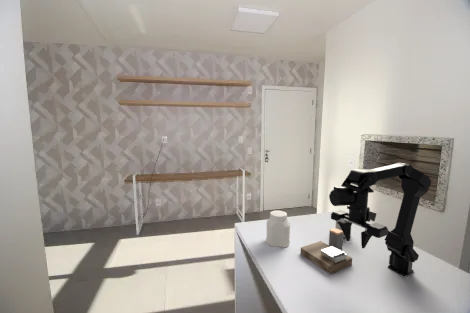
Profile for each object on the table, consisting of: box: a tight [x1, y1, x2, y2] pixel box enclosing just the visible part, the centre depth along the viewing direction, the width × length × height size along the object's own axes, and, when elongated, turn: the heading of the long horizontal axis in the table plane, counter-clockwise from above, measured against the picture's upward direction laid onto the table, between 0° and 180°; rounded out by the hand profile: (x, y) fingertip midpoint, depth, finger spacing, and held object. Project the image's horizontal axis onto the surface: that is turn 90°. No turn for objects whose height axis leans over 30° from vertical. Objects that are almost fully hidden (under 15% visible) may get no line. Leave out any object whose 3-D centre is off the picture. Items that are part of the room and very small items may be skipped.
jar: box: [265, 210, 291, 248], centre depth 107 cm, size 12×10×15 cm
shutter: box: [321, 246, 348, 263], centre depth 89 cm, size 7×7×3 cm
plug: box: [328, 227, 344, 251], centre depth 102 cm, size 4×4×9 cm
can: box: [334, 212, 352, 239], centre depth 115 cm, size 8×8×12 cm
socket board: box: [300, 240, 353, 275], centre depth 93 cm, size 16×13×3 cm
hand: (355, 244), depth 81 cm, fingers open, 6 cm apart
